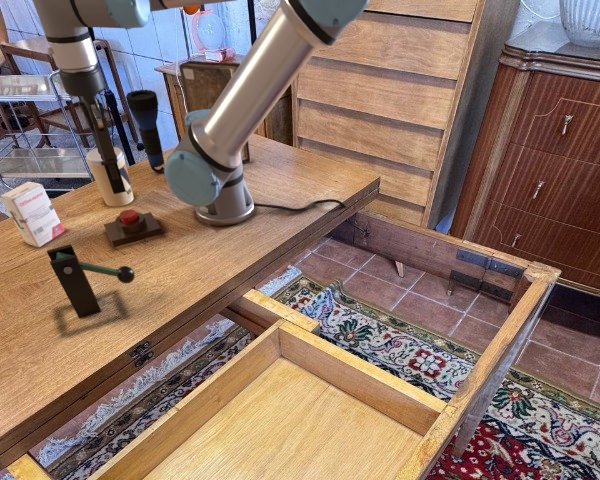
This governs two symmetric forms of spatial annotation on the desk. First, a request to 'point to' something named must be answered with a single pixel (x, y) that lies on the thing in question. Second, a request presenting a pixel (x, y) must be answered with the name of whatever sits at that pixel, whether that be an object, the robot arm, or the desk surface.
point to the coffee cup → (103, 181)
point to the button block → (132, 230)
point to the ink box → (33, 213)
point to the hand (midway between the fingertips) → (119, 191)
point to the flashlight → (147, 124)
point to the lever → (106, 270)
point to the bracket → (74, 281)
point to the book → (208, 87)
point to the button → (128, 216)
